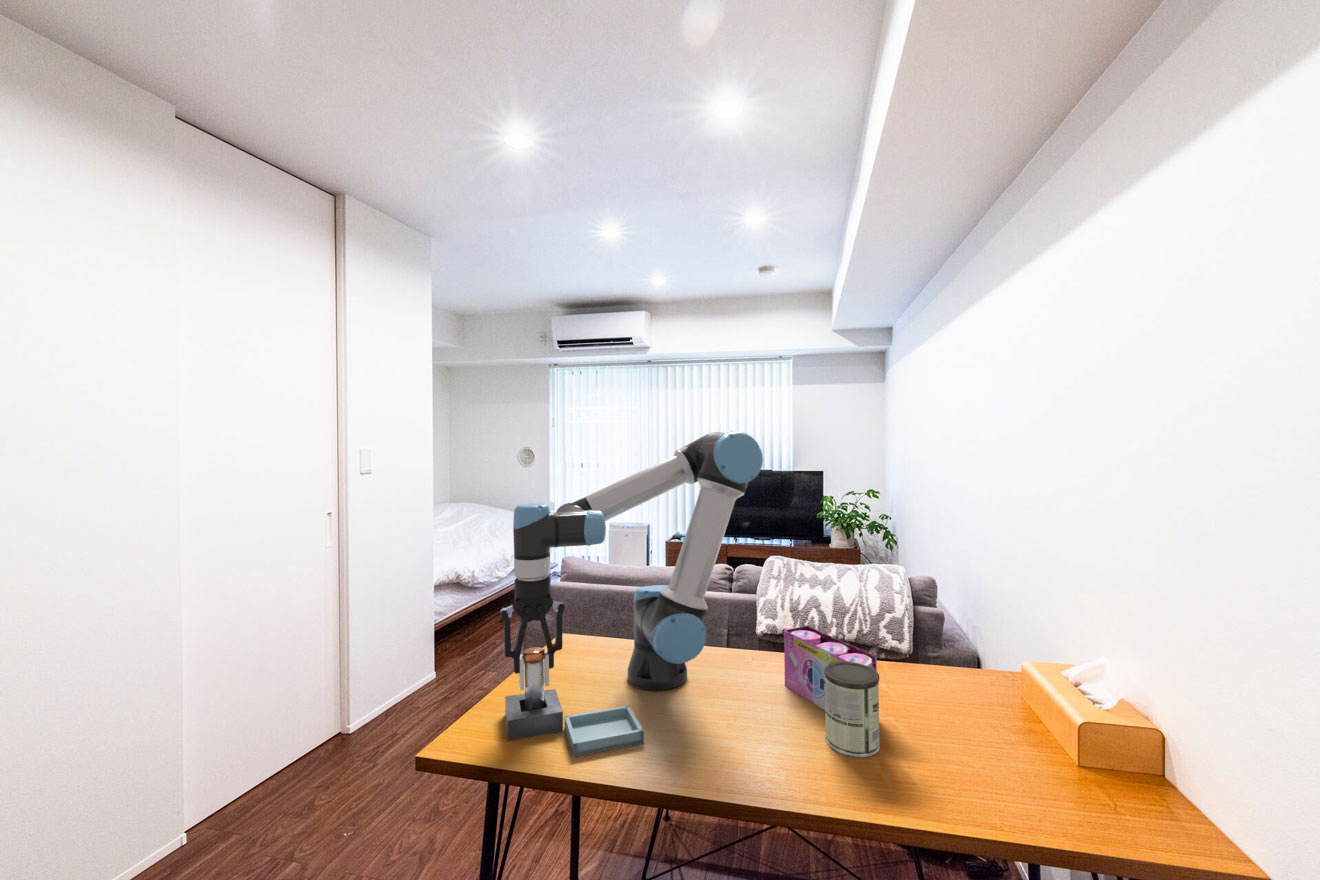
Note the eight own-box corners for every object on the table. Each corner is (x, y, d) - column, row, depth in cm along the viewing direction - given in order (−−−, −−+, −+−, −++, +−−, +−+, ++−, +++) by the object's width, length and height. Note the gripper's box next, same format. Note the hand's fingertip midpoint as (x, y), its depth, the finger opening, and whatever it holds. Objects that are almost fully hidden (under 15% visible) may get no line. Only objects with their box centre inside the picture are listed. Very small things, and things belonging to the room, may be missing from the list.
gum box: (884, 723, 116) (883, 659, 116) (856, 731, 112) (855, 665, 112) (808, 678, 137) (808, 624, 137) (783, 685, 134) (782, 629, 134)
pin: (544, 705, 120) (543, 646, 119) (546, 715, 115) (545, 653, 115) (522, 708, 118) (521, 648, 118) (524, 719, 114) (523, 656, 114)
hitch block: (555, 706, 123) (555, 688, 123) (562, 730, 113) (562, 711, 113) (505, 714, 120) (505, 696, 120) (508, 740, 110) (507, 720, 110)
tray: (629, 716, 119) (629, 705, 119) (643, 743, 108) (643, 730, 108) (564, 728, 114) (564, 716, 114) (573, 756, 104) (573, 743, 104)
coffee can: (825, 725, 115) (825, 658, 115) (878, 734, 111) (878, 665, 111) (823, 752, 105) (823, 679, 105) (881, 762, 101) (880, 686, 101)
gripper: (570, 568, 123) (572, 672, 123) (488, 576, 117) (490, 684, 117) (576, 576, 116) (578, 686, 116) (489, 585, 110) (491, 700, 110)
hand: (534, 685), depth 117 cm, fingers closed on pin, 4 cm apart
